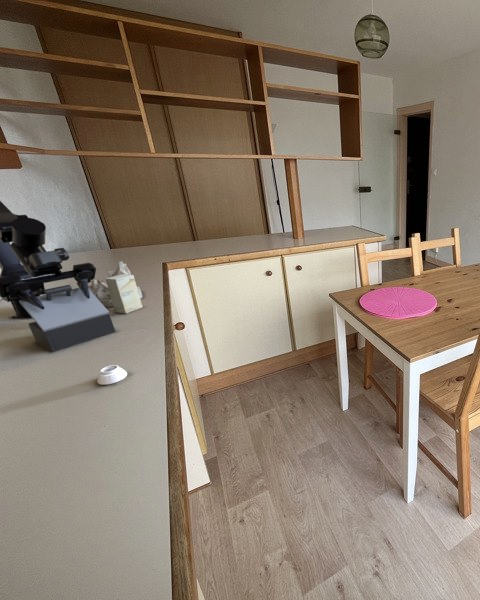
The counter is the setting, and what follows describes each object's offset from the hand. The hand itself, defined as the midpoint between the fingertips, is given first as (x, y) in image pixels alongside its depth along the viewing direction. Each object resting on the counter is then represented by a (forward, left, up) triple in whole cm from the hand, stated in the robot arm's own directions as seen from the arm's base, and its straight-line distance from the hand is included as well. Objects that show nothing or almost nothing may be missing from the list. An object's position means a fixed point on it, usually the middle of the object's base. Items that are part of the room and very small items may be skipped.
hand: (67, 303), depth 85 cm
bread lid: (-2, +1, -2) cm, 3 cm away
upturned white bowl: (+24, -20, -11) cm, 33 cm away
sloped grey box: (-2, +1, -11) cm, 11 cm away
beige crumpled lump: (-14, +31, -11) cm, 36 cm away
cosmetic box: (-2, +21, -11) cm, 24 cm away
